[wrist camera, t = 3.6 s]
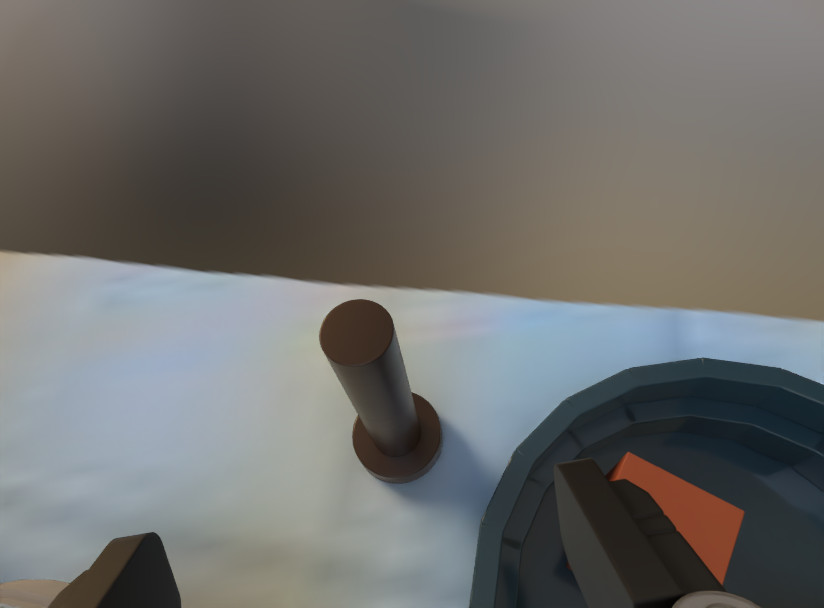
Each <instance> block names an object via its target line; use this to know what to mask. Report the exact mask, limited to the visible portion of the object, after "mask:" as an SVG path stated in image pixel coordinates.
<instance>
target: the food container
mask: <svg viewBox="0 0 824 608" xmlns="http://www.w3.org/2000/svg"><path fill="white" fill-rule="evenodd" d="M68 585H69V583H65V582H60V581H55V580H18V581H12V582H7V583H1V584H0V608H48V606H49V605H50V604H51V603H52V601H53V600H54V599H55V597H56V596H57V595H58V594H59V592H61V591H62V590H63V589H64V588H65V587H67V586H68Z"/></svg>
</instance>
